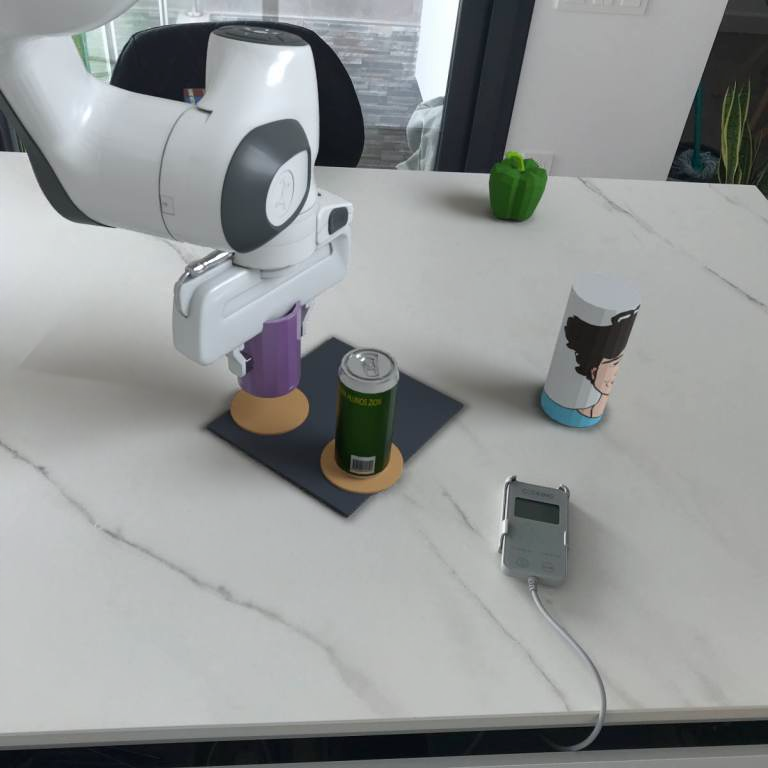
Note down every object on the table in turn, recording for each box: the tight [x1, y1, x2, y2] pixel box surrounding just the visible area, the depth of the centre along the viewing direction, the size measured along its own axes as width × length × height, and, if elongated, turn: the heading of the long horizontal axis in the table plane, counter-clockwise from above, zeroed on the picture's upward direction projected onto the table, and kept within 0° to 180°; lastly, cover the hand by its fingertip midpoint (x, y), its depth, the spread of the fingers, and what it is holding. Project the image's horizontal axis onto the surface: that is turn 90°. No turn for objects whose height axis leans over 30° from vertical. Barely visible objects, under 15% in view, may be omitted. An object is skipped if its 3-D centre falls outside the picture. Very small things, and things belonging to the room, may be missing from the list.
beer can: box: [334, 346, 400, 480], centre depth 71 cm, size 5×5×12 cm
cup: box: [540, 271, 644, 428], centre depth 80 cm, size 7×7×15 cm
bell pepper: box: [488, 150, 549, 222], centre depth 115 cm, size 8×8×10 cm
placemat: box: [206, 336, 465, 518], centre depth 80 cm, size 20×20×1 cm
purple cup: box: [236, 300, 302, 398], centre depth 75 cm, size 6×6×9 cm
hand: (268, 352), depth 75 cm, fingers closed on purple cup, 6 cm apart
